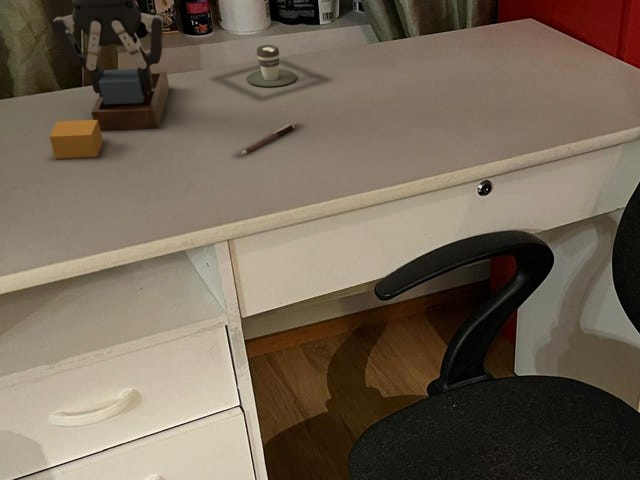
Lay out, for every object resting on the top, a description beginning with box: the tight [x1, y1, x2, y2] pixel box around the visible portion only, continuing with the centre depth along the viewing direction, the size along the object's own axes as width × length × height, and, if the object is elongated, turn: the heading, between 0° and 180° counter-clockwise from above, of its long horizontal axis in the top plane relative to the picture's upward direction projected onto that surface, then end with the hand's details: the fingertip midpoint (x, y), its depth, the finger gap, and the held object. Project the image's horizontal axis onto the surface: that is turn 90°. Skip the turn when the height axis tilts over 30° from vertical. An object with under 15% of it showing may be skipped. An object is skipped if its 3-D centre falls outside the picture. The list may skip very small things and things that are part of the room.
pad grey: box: [99, 68, 145, 104], centre depth 118 cm, size 5×5×3 cm
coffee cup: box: [246, 44, 298, 88], centre depth 133 cm, size 12×12×5 cm
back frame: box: [90, 71, 170, 131], centre depth 123 cm, size 8×15×3 cm, turn 10°
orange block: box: [48, 119, 104, 160], centre depth 111 cm, size 5×5×3 cm
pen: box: [240, 123, 297, 156], centre depth 115 cm, size 11×1×1 cm, turn 151°
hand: (125, 94), depth 118 cm, fingers closed on pad grey, 5 cm apart
